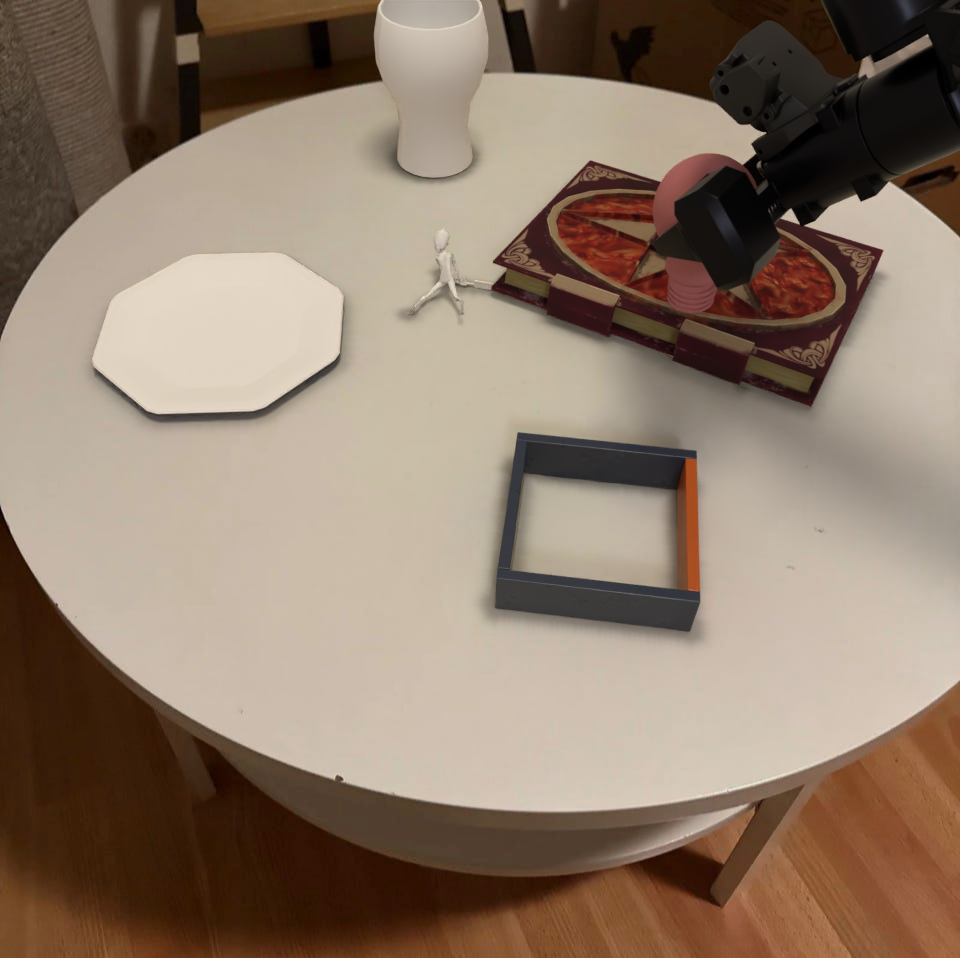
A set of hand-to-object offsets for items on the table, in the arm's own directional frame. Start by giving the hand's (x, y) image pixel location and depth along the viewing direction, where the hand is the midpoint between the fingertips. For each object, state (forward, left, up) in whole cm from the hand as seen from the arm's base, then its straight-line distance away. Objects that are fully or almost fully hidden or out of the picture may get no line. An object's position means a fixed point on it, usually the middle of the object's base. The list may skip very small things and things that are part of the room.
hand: (684, 223), depth 65 cm
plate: (+32, -16, -14) cm, 38 cm away
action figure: (+10, -12, -14) cm, 21 cm away
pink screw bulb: (-1, +1, -7) cm, 7 cm away
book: (-7, -8, -13) cm, 17 cm away
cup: (+6, -35, -13) cm, 38 cm away
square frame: (+12, +15, -13) cm, 23 cm away
